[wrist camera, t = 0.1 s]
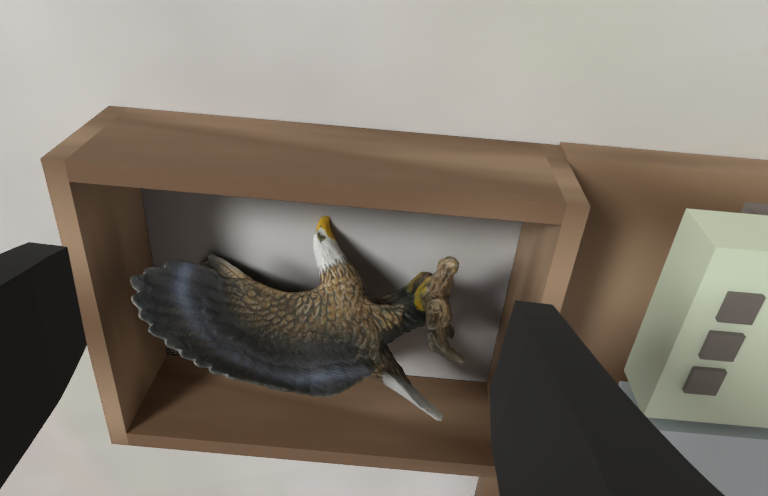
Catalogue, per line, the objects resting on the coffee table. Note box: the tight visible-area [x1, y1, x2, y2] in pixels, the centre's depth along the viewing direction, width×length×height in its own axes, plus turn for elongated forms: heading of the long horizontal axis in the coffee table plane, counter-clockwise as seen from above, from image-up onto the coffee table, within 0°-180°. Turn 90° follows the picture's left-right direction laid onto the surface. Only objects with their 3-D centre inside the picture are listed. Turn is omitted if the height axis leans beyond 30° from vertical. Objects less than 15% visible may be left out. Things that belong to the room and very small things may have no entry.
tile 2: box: [618, 381, 768, 496], centre depth 21 cm, size 6×6×2 cm
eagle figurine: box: [130, 216, 466, 421], centre depth 19 cm, size 8×7×9 cm
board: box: [41, 106, 768, 496], centre depth 22 cm, size 20×26×4 cm
